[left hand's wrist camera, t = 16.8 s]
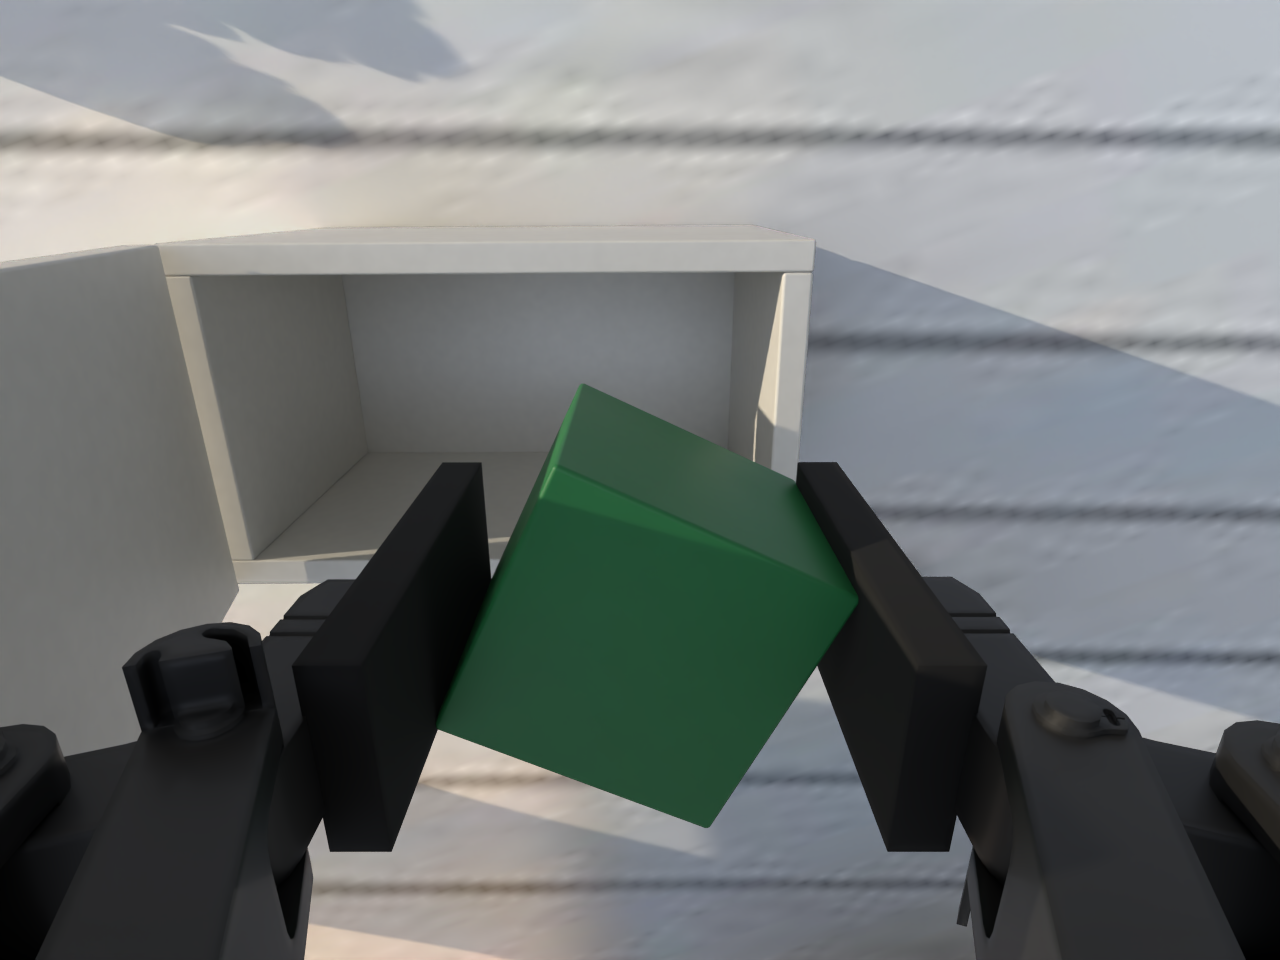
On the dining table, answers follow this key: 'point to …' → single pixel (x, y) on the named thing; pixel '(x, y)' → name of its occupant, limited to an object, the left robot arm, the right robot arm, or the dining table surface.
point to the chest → (467, 364)
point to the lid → (97, 490)
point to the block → (648, 614)
